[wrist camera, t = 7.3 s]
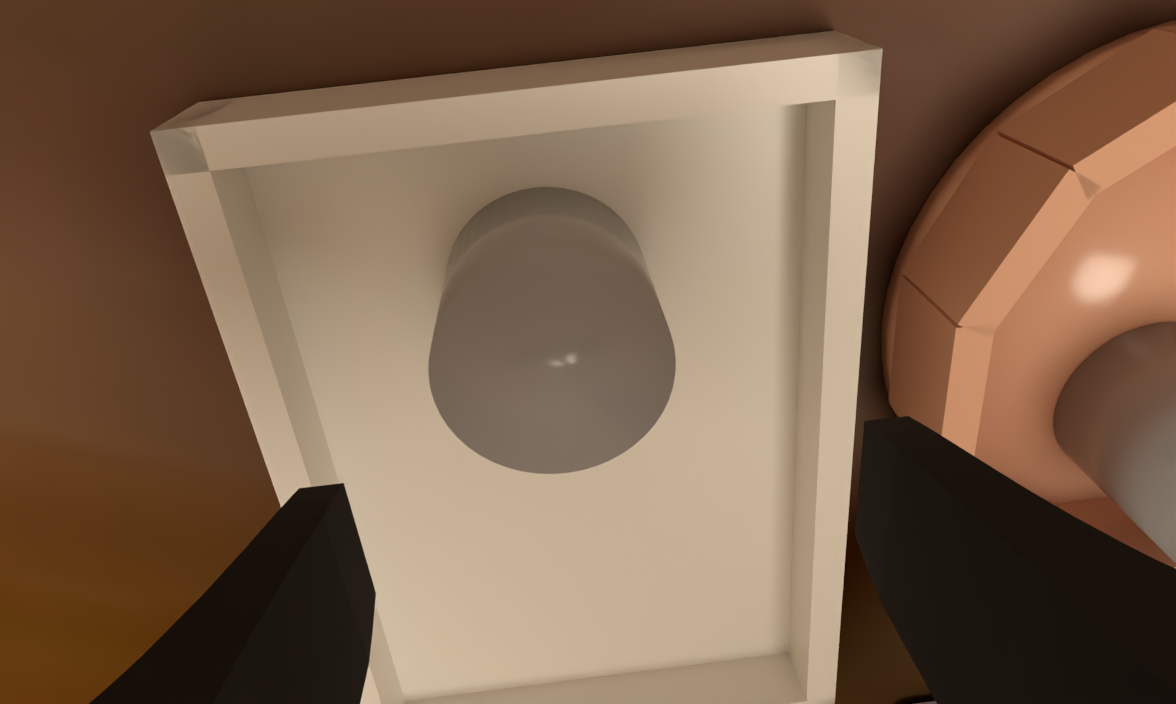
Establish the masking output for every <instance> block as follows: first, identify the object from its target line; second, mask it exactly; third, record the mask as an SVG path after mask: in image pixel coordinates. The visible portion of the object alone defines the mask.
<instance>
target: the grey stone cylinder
mask: <svg viewBox="0 0 1176 704" xmlns="http://www.w3.org/2000/svg"><path fill="white" fill-rule="evenodd" d="M1054 433H1055V437H1056V440H1057V442H1058V444H1059V446H1060V448H1061V449H1062V451H1063V452H1064V453H1065V454H1066V455H1067V456H1068V457H1069V458H1070V459H1071V460H1072V461H1073V462H1074V463H1075V464H1076V465H1077V466H1078V467H1079V468H1080V469H1081V470H1082V471H1083V472H1084V473H1085V474H1086V475H1087V476H1088V477H1089V478H1090V479H1091V480H1092V481H1093V482H1094V483H1095V484H1096V485H1097V486H1098V487H1099V488H1100V489H1101V490H1102V491H1103V492H1104V493H1105V494H1106V495H1107V496H1108V497H1109V498H1110V499H1111V500H1112V501H1113V502H1114V503H1115V504H1116V505H1117V506H1118V507H1119V508H1120V509H1121V510H1122V511H1123V512H1124V513H1125V514H1126V515H1127V516H1128V517H1129V518H1130V519H1131V520H1132V521H1133V522H1134V523H1135V524H1136V525H1137V526H1138V527H1139V528H1140V529H1141V530H1142V531H1144V532H1145V533H1146V534H1147V535H1148V536H1149V537H1150V538H1151V539H1152V540H1153V541H1154V542H1155V543H1156V544H1157V545H1158V546H1159V547H1160V548H1161V549H1162V550H1163V551H1164V552H1165V553H1166V554H1167V555H1168V556H1169V557H1170V558H1171V559H1172V560H1173V561H1174V562H1175V563H1176V322H1160V323H1154V324H1149V325H1145V326H1142V327H1138V328H1136V329H1133V330H1130V331H1128V332H1125V333H1123V334H1121V335H1119V336H1117V337H1115V338H1114V339H1112V340H1110V341H1109V342H1107V343H1106V344H1104V345H1103V346H1101V347H1100V348H1099V349H1097V350H1096V351H1095V352H1093V353H1092V354H1091V355H1090V356H1089V357H1088V358H1087V359H1085V360H1084V361H1083V362H1082V364H1081V365H1080V366H1079V367H1078V368H1077V369H1076V370H1075V371H1074V373H1073V374H1072V375H1071V377H1070V378H1069V379H1068V381H1067V383H1066V384H1065V386H1064V388H1063V389H1062V392H1061V394H1060V396H1059V398H1058V401H1057V404H1056V407H1055V412H1054Z"/></svg>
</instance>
